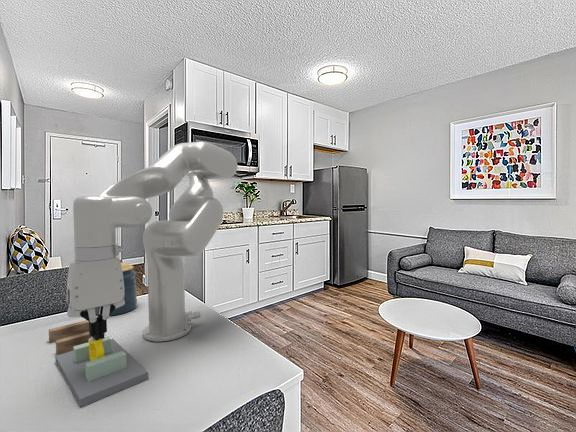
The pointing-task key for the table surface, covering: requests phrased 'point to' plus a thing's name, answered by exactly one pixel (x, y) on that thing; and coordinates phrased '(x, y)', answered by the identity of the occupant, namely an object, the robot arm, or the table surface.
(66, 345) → the holder
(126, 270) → the canister
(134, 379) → the dock
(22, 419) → the table surface
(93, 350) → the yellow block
